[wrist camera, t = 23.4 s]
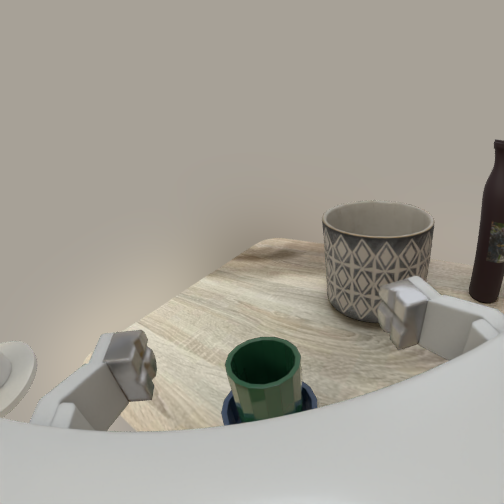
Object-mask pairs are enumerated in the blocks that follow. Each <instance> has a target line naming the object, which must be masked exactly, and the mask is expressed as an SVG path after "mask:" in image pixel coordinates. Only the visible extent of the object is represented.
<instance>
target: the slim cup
mask: <svg viewBox="0 0 504 504" xmlns="http://www.w3.org/2000/svg"><path fill="white" fill-rule="evenodd" d="M225 367H226V372H227V376H228V379H229V383H230V386H231V390H232V393H233V396H234V400H235V403H236V406H237V410H238V413H239V416H240V419H241V423H247V422H253V421H259V420H264V419H270V418H275V417H280V416H285V415H290V414H294V413H299V412H303V394H302V370H301V355H300V353H299V351H298V349H297V348H296V346H294V345H293V344H291V343H290V342H289V341H287V340H284V339H280V338H277V337H259V338H254V339H250V340H247V341H245V342H243V343H242V344H240V345H238V346H236V347H235V348H234V349H233V350H232V351H231V352H230V353H229V355H228V357H227V360H226V363H225Z"/></svg>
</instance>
